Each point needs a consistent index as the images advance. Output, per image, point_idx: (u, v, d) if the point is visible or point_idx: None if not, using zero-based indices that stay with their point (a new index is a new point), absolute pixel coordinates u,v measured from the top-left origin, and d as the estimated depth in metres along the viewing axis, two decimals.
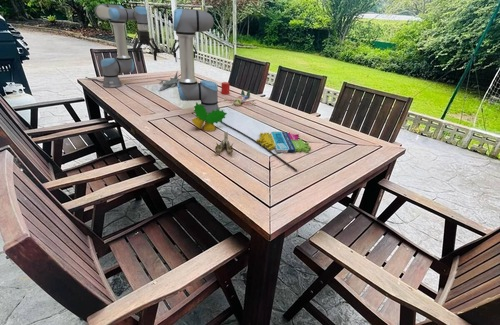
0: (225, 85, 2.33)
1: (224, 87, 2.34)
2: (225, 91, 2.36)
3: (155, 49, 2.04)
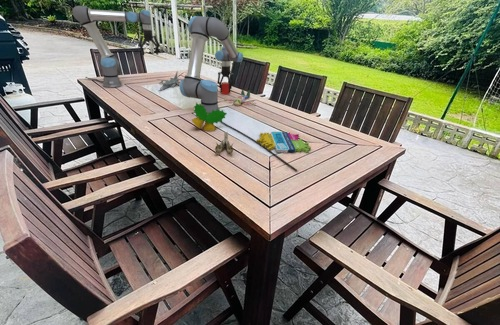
0: (225, 85, 2.33)
1: (224, 87, 2.34)
2: (225, 91, 2.36)
3: (157, 45, 2.47)
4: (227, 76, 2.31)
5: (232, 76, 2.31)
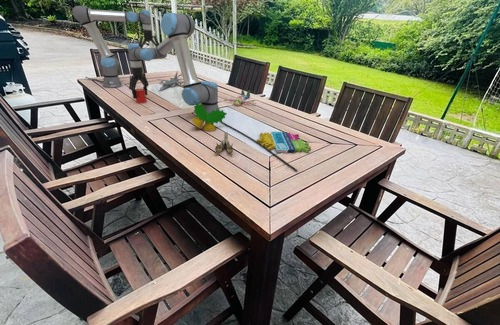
0: (144, 92, 1.99)
1: (143, 94, 1.99)
2: (145, 98, 2.01)
3: (157, 45, 2.47)
4: (142, 78, 1.96)
5: (145, 76, 1.99)
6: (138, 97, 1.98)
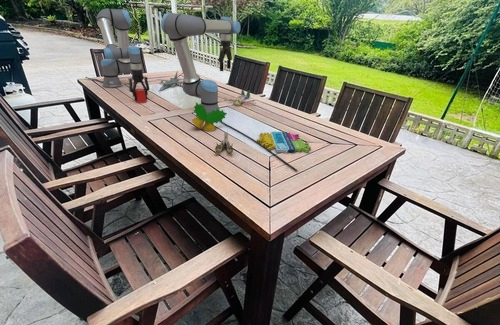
0: (144, 92, 1.99)
1: (143, 94, 1.99)
2: (145, 98, 2.01)
3: (146, 88, 2.01)
4: (228, 51, 2.03)
5: (230, 49, 2.06)
6: (138, 97, 1.98)
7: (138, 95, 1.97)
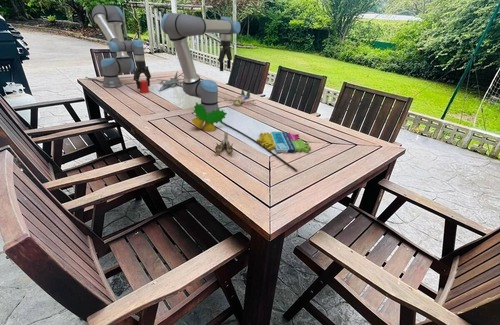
0: (147, 83, 2.25)
1: (147, 84, 2.25)
2: None
3: (148, 76, 2.27)
4: (228, 51, 2.03)
5: (230, 49, 2.06)
6: (143, 87, 2.23)
7: (143, 86, 2.22)
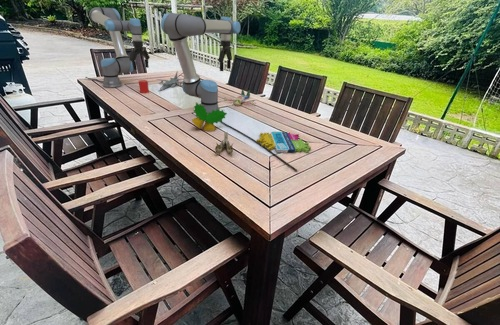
0: (147, 83, 2.25)
1: (147, 84, 2.25)
2: None
3: (147, 57, 2.20)
4: (228, 51, 2.03)
5: (230, 49, 2.06)
6: (143, 87, 2.23)
7: (143, 86, 2.22)
